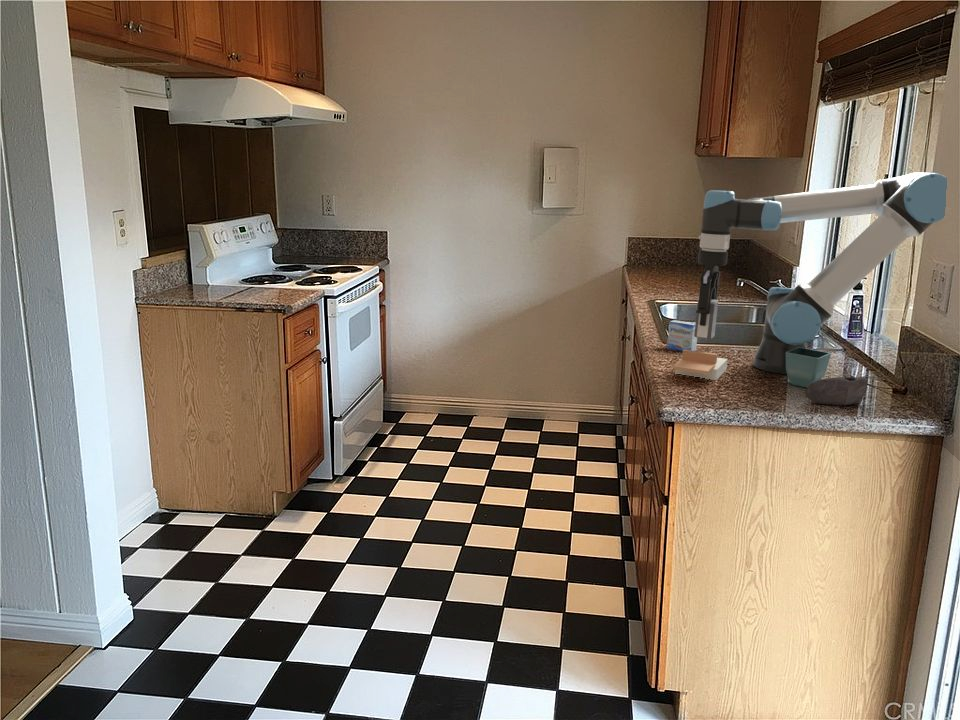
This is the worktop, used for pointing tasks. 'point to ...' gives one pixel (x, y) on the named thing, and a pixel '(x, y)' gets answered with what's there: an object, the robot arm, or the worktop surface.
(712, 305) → the plug
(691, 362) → the shutter
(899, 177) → the robot arm
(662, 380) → the worktop surface
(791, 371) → the flower pot
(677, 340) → the medicine box
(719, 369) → the socket housing
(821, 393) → the perforated stone tool
